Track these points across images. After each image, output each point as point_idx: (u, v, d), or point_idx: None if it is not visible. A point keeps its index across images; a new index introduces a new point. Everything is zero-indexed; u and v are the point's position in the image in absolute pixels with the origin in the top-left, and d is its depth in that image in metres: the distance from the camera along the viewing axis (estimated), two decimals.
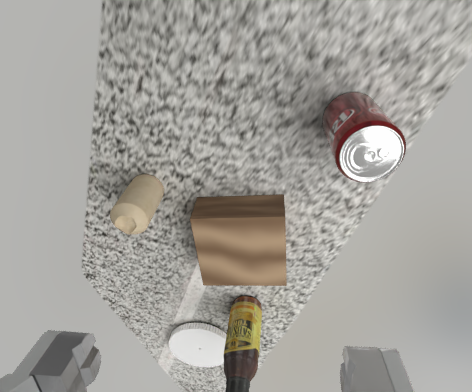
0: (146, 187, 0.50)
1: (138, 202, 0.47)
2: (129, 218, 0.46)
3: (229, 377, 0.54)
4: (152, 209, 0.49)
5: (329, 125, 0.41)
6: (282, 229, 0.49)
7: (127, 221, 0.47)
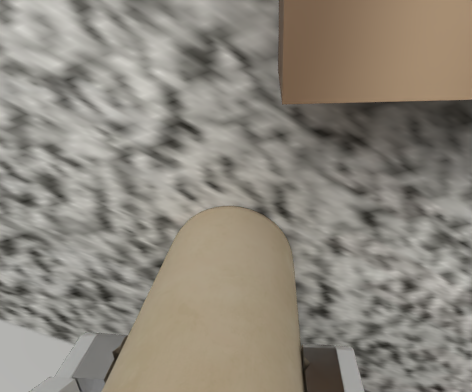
0: (153, 284, 0.12)
1: (102, 391, 0.08)
2: None
3: None
4: (199, 316, 0.09)
5: None
6: None
7: None
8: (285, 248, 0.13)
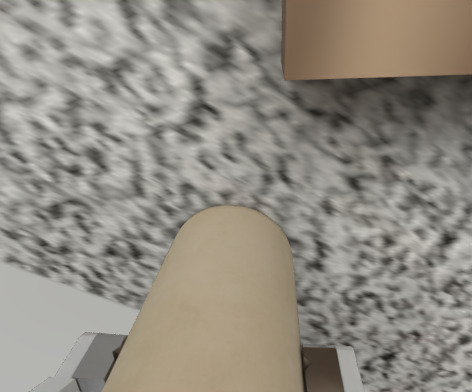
0: (154, 282, 0.12)
1: (104, 388, 0.08)
2: None
3: None
4: (200, 313, 0.09)
5: None
6: None
7: None
8: (285, 247, 0.13)
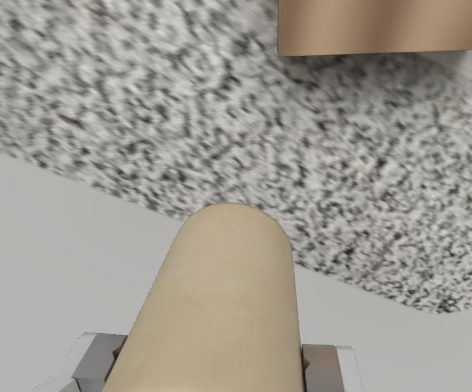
0: (156, 277, 0.12)
1: (109, 378, 0.08)
2: None
3: None
4: (202, 307, 0.09)
5: None
6: None
7: None
8: (285, 244, 0.14)
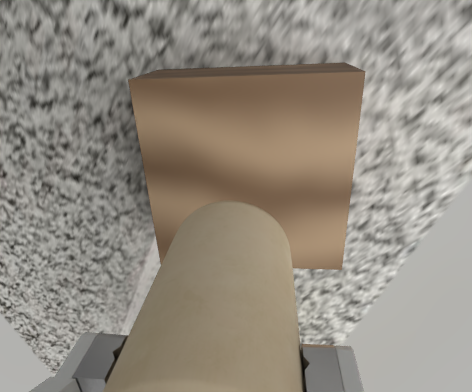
0: (157, 274, 0.12)
1: (113, 372, 0.08)
2: None
3: None
4: (204, 301, 0.09)
5: None
6: (353, 112, 0.20)
7: None
8: (283, 241, 0.14)
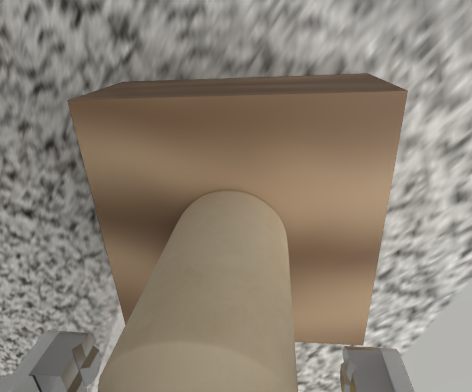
0: (160, 256, 0.13)
1: (120, 338, 0.09)
2: None
3: None
4: (203, 277, 0.10)
5: None
6: (387, 148, 0.14)
7: None
8: (280, 228, 0.15)
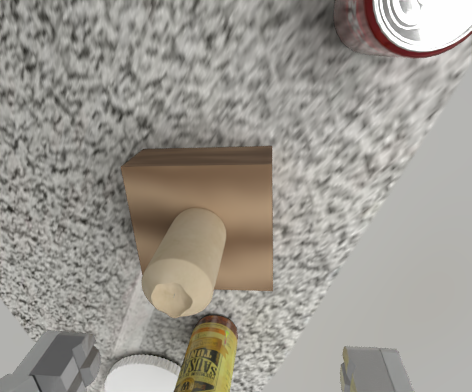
0: None
1: (149, 263, 0.25)
2: (165, 289, 0.24)
3: None
4: (180, 241, 0.26)
5: None
6: (267, 188, 0.30)
7: (174, 294, 0.25)
8: (220, 225, 0.31)
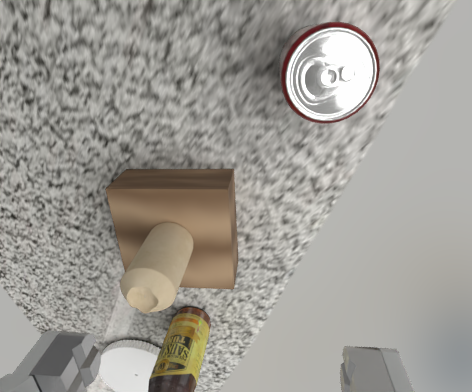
0: (140, 248, 0.36)
1: (126, 270, 0.33)
2: (138, 291, 0.32)
3: None
4: (151, 253, 0.33)
5: (281, 56, 0.30)
6: (225, 208, 0.37)
7: (145, 295, 0.32)
8: (187, 237, 0.38)
